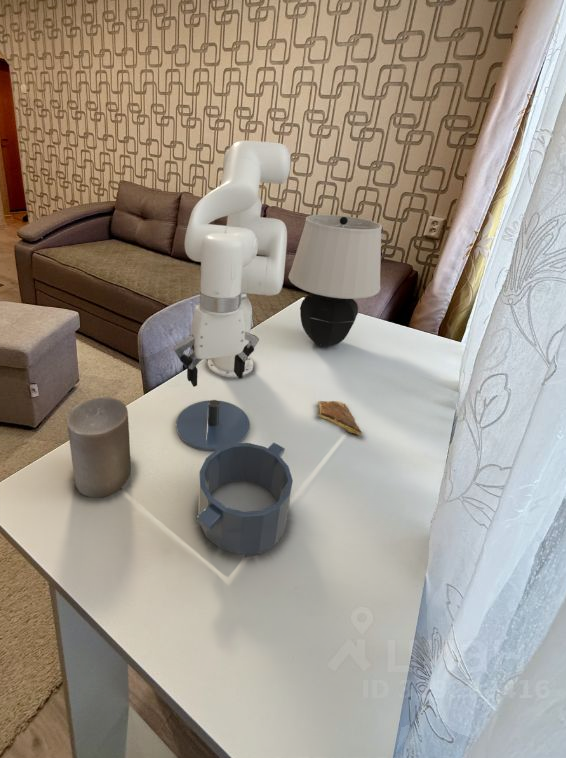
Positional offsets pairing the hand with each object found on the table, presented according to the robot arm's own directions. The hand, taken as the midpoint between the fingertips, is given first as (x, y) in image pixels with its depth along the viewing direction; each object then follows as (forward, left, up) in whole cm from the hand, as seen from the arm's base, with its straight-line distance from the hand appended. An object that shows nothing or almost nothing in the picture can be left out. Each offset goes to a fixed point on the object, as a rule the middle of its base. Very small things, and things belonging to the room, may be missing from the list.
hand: (216, 379), depth 80 cm
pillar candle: (-6, -23, -13) cm, 27 cm away
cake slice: (+20, +22, -13) cm, 32 cm away
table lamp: (0, +53, -13) cm, 55 cm away
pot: (+18, -13, -13) cm, 25 cm away
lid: (0, 0, -12) cm, 12 cm away
